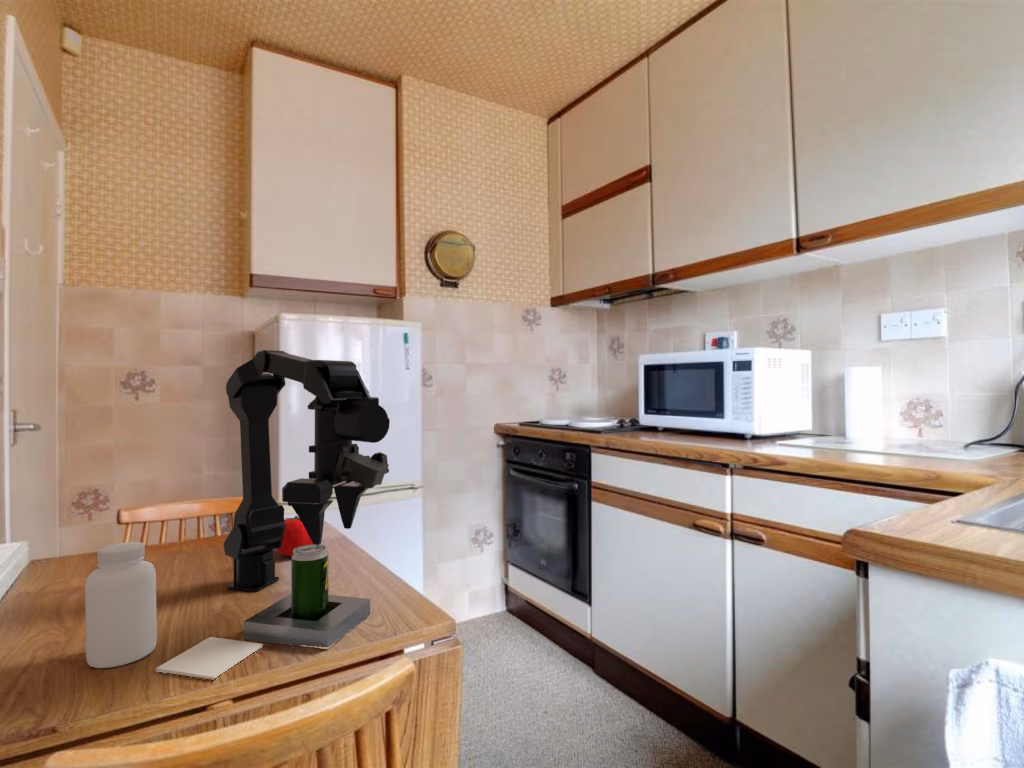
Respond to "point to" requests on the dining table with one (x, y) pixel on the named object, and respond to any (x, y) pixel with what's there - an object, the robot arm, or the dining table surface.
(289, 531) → the tomato
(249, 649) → the tile
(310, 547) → the green silver-topped cylinder
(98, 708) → the dining table surface
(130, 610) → the pill bottle
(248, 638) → the frame
